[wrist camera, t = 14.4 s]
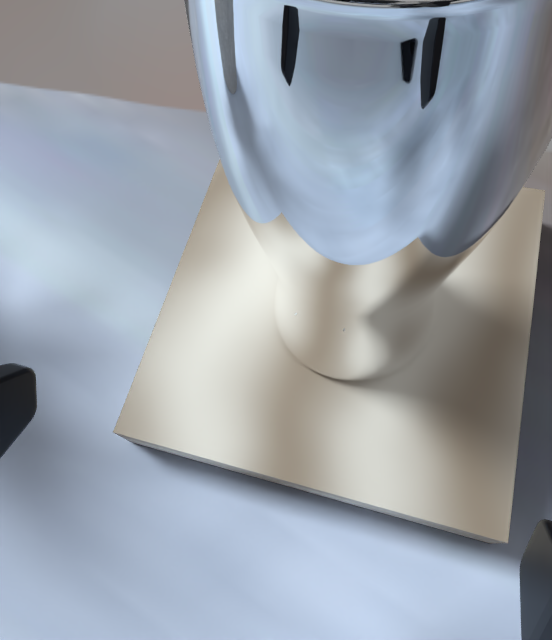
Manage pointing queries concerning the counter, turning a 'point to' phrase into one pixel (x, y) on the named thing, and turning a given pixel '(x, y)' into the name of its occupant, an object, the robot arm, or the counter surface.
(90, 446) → the counter surface
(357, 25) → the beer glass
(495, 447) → the shelf board
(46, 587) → the counter surface
